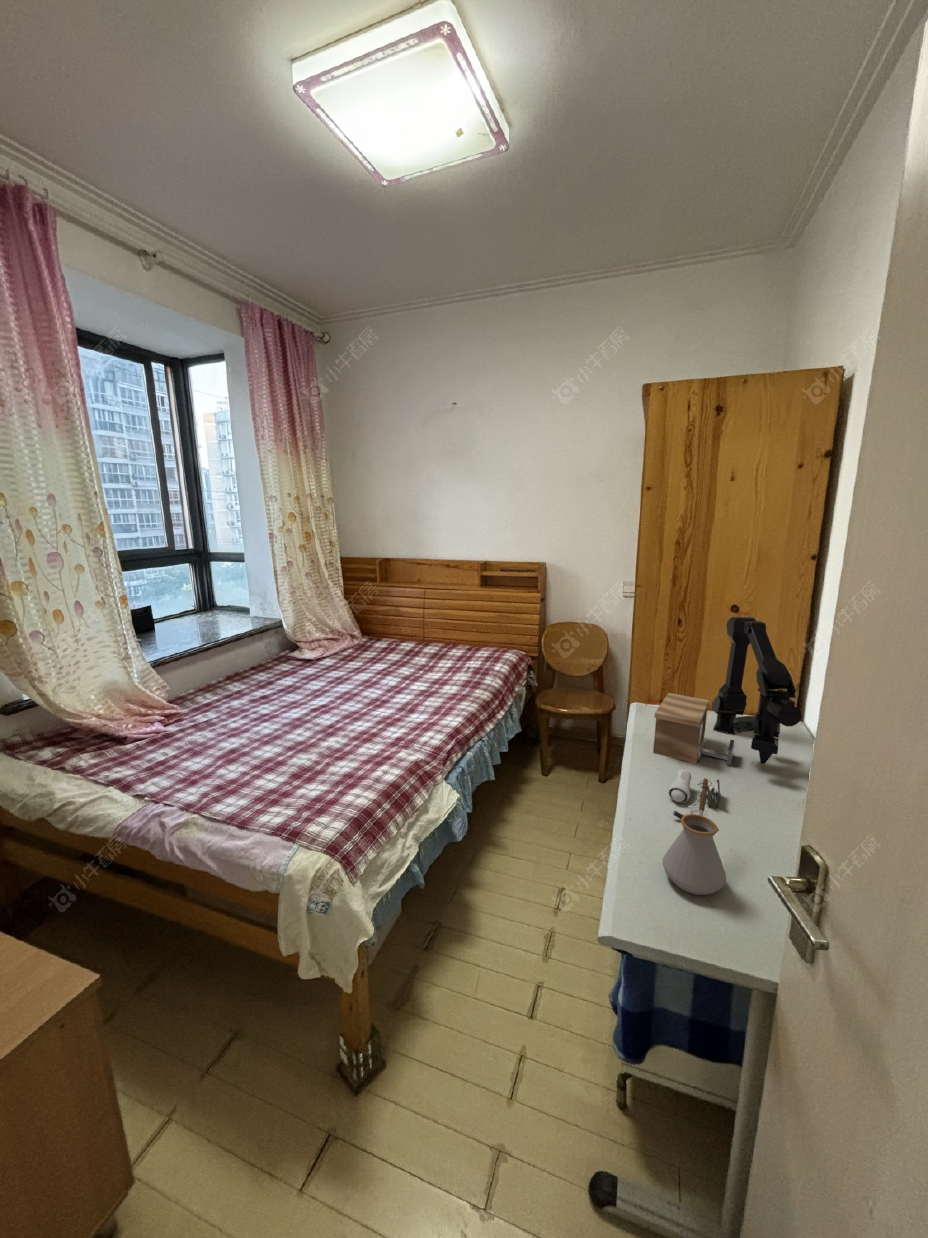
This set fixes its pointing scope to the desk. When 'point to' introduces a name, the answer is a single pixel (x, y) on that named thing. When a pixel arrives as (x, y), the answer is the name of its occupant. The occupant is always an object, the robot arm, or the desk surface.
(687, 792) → the clip-on lamp
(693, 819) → the coffee pot
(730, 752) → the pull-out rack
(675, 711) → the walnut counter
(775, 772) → the desk surface
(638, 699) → the desk surface
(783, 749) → the desk surface
